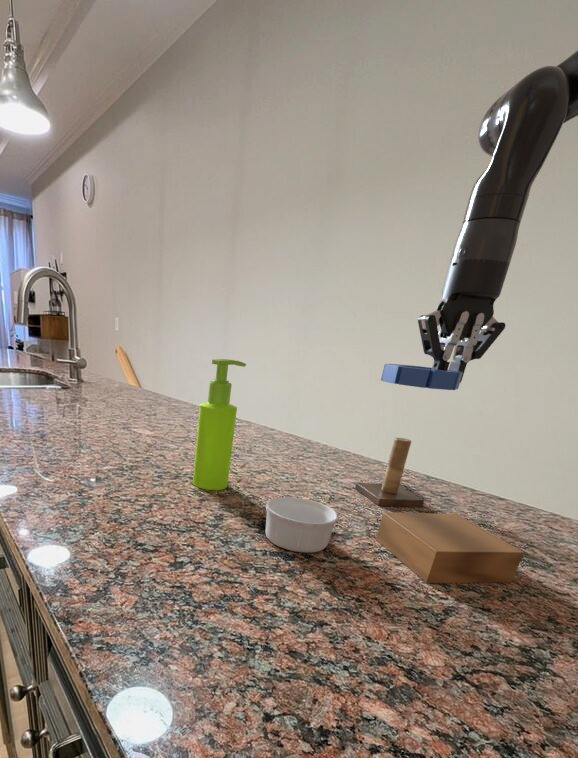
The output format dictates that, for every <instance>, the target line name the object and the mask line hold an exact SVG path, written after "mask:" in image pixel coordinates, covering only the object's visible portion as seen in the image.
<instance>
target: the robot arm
mask: <svg viewBox="0 0 578 758" xmlns="http://www.w3.org/2000/svg"><path fill="white" fill-rule="evenodd" d="M577 117H578V49H577V50H576V51H574V52H573V53H572V54H571V55H570V56H568V58H565V60H563V61H562V62H560V63H559V64H558V65H556V66H555V65H545V66H543V67H540V68H538V69H535V70H533V71H532V72H530V73H529V74H526V75H525V76H524V77H523V78H521V79H520V80H519V81H517V83H515V84H514V85H513V86H511V87H510V88H509V90H507V91H505V92H504V93H503V94H502V95H501V96H499V97H498V98H497V99H496V100H495V101H493V103H492V105H491V106H490V107H489V108H488V109H487V111H486V112H485V114H484V115H483V118H482V120H481V122H480V125H479V128H478V136H477V138H478V144H479V147H480V149H481V151H482V152H483V153H484V154H485V155H487V156H489V157H491V160H490V162H489V163H488V165H487V167H486V169H485V170H484V171H483V172H482V173H481V174H480V176H479V177H478V178H477V179H476V181H475V182H474V184H473V186H472V188H471V191H470V194H469V197H468V200H467V205H466V208H465V212H464V215H463V220H462V224H461V227H460V229H459V232H458V234H457V236H456V240H455V242H454V245H453V249H452V253H451V256H450V260H449V264H448V267H447V272H446V275H445V278H444V283H443V286H442V290H441V296H442V298H441V301H440V302H439V304H438V305H437V307H436V310H434V311H432V312H430V313H428V314H421V315H419V316H418V319H417V324H418V329H419V334H420V340H421V345H422V349H423V353H424V355H426V356H430V357H432V359H433V363H432V365H431V366H432V367H431V368H432V370H442V371H447V370H454V371H461V372H463V374H462V378H461V381H460V384H461V383H462V381H463V377H464V374H465V372H466V368H467V366H468V363H470V362H471V361H474V360H480V359H481V358H482V357H483V356H484V355H485V354H486V352H487V351H488V350H489V348H490V347H491V346H492V345H493V344H494V343H495V341H496V340H497V339H498V337H500V335H501V334H502V332H503V331H504V330H505V329H506V323H505V322H502V321H501V322H499V321H498V320H497V319H496V318H495V317H494V314H495V309H494V305H495V302H496V300H497V299H499V297H500V296H501V293H502V290H503V288H504V283H505V280H506V277H507V274H508V271H509V268H510V265H511V261H512V259H513V256H514V251H515V249H516V245H517V241H518V235H519V230H520V226H521V223H522V220H523V217H524V213H525V210H526V206H527V203H528V200H529V196H530V192H531V188H532V186H533V184H534V182H535V180H536V178H537V176H538V174H539V173H540V171H541V170H542V169H543V166H544V164H545V161H546V160H547V158H548V156H549V154H550V152H551V150H552V148H553V146H554V144H555V142H556V140H557V137H558V136H559V134H560V131H561V129H562V128H563V125H564V124H565V123H567V122H569V121H571V120H573V119H574V118H577ZM438 326H439V327H440V328H438ZM451 357H452V361H449V360H450V359H451Z"/></svg>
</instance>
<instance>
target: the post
mask: <svg viewBox="0 0 578 758" xmlns="http://www.w3.org/2000/svg"><path fill="white" fill-rule="evenodd" d="M411 445H412V440H411V439H409V438H404V437H394V439H393V442H392V446H391V450H390V454H389V458H388V461H387V465H386V470H385V473H384V477H383V481H382V483H373V482H356V483H355V486H354V490H355V491H357V492H359V493H360V494H361V495H362V496H364V497H366V499H369V501H371V502H372V503H374V504H375V505H377V506H378V507H408V508H409V507H410V508H411V507H412V508H413V507H414V508H422V507H423V506H424V503H425V500H424V499H423V498H421V497H419V496H418V495H416V494H414V493H412V492H411V491H409V490H407V489H406V488H404V487H403V486H401V485H400V484H401V481H402V476H403V474H404V470H405V465H406V462H407V458H408V456H409V451H410V449H411Z"/></svg>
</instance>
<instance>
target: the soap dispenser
mask: <svg viewBox="0 0 578 758" xmlns="http://www.w3.org/2000/svg"><path fill="white" fill-rule="evenodd" d="M211 364H212V365H215V366H216V372H215V379H213V380H210V381H209V386H208V397H207V401H205V402H200V403H199V407H198V418H197V431H196V442H195V452H194V453H195V454H194V464H193V475H192V485H194V486H195V487H196V488H199V489H203V490H207V491H208V490H209V491H221V490H225V489H227V488H228V484H229V478H230V477H229V476H230V469H231V461H232V452H233V445H234V444H233V443H234V436H235V428H236V420H237V419H236V418H237V410H238V407H237V406H235V405H234V404H231V403H230V402H231V393H232V383H231V382H230V380H228V370H229V366H233V365H234V366H238V367H243V368H245V367H246V366H247V364H246V363H245V362H242V361H239V360H235V359H229V358H218V359H217V358H216V359H212V360H211Z"/></svg>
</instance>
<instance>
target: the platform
mask: <svg viewBox="0 0 578 758" xmlns="http://www.w3.org/2000/svg"><path fill="white" fill-rule="evenodd" d="M375 540H376V541H377V542H378V543H379V544H381V545H382V546H383V547H384V548H385V549H386V550H387V551H389V552H390V553H391V554H392V555H393V556H394V557H396V558H397V560H399V561H400V562H401V563H402V564H404V566H406V567H407V568H408V569H409V570H411V571H412V572H413V573H415V575H417V576H418V578H420V579H421V580H422V581H424V582H425V584H511V583H512V582H513V580H514V578H515V576H516V573H517V571H518V568H519V565H520V564H521V561H522V558H523V556H524V554H525V552H524V551H523V550H521V549H519V548H518V547H516V546H514V545H512V544H510V543H509V542H507V541H505V540H503V539H501V538H499V537H498V536H496V535H495V534H493V533H491V532H489V531H488V530H486V529H485V528H482V527H480V526H479V525H477V524H476V523H474V522H472V521H471V520H469V519H466V518H465V517H463V516H462V515H460V514H457V513H430V512H429V513H426V512H425V513H423V512H392V511H389V512H387V511H383V512H382V516H381V519H380V522H379V526H378V530H377V534H376V537H375Z"/></svg>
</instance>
